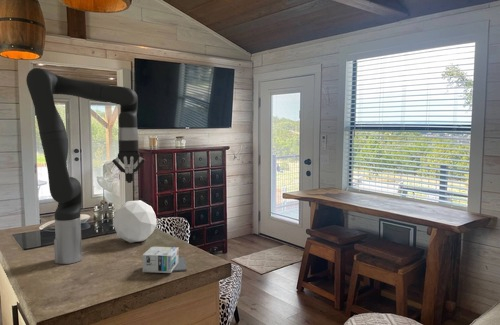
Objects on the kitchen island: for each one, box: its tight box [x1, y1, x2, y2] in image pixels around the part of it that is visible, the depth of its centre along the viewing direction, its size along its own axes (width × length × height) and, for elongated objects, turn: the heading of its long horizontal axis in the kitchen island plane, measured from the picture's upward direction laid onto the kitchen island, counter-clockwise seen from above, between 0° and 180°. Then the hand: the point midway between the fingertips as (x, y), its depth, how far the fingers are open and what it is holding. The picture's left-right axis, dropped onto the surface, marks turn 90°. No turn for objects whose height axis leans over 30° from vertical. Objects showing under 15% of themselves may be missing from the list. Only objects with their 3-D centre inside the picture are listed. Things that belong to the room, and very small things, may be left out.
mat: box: [152, 256, 187, 274], centre depth 151 cm, size 12×14×1 cm
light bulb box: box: [142, 246, 180, 274], centre depth 146 cm, size 11×7×11 cm
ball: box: [112, 199, 157, 244], centre depth 182 cm, size 19×20×20 cm
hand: (129, 182), depth 156 cm, fingers closed
